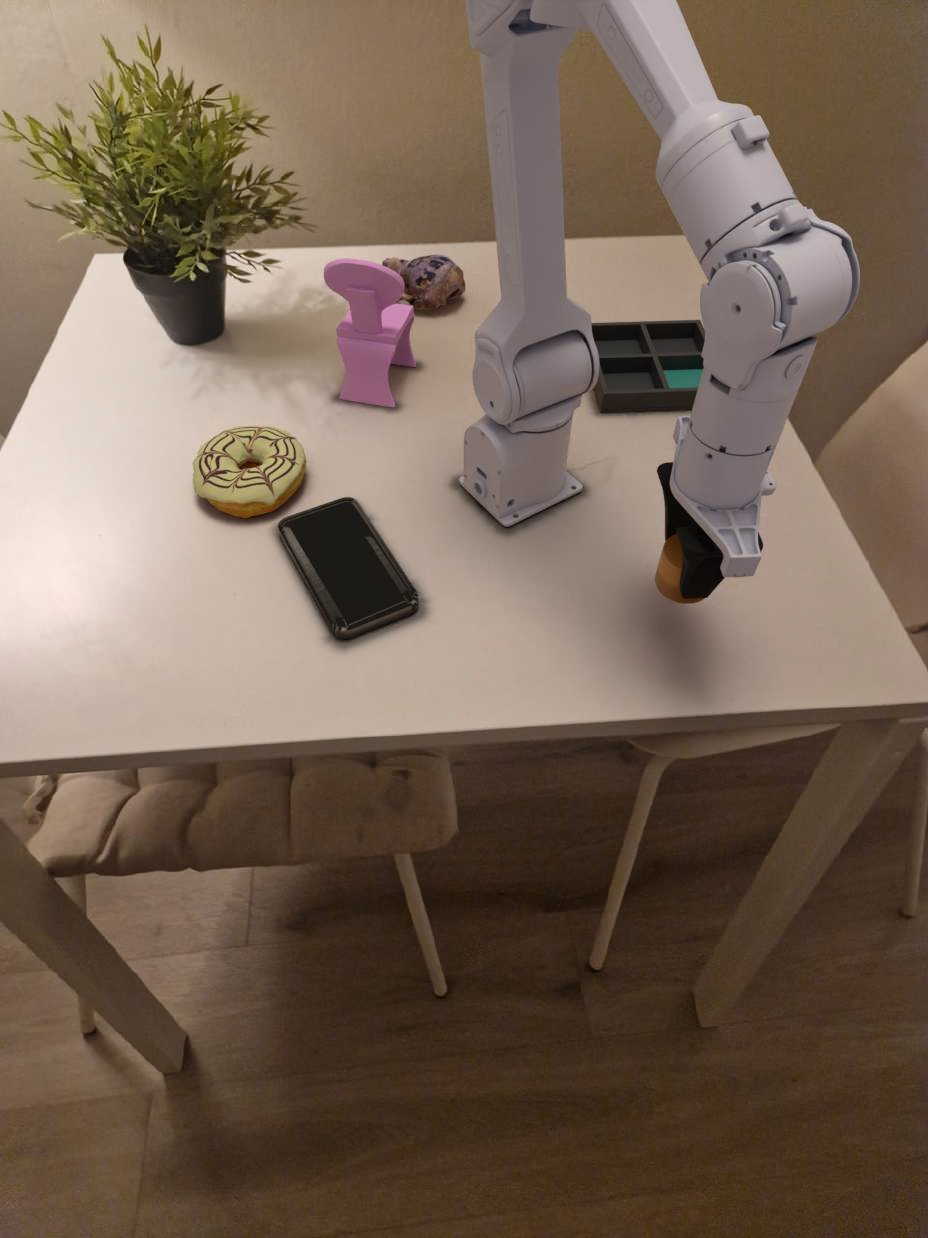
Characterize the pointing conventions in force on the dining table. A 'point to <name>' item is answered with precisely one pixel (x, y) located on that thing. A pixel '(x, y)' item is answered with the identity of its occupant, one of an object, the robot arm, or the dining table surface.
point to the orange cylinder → (671, 571)
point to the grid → (648, 364)
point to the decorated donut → (249, 470)
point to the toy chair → (370, 328)
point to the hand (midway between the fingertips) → (686, 571)
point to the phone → (347, 567)
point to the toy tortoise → (428, 280)
